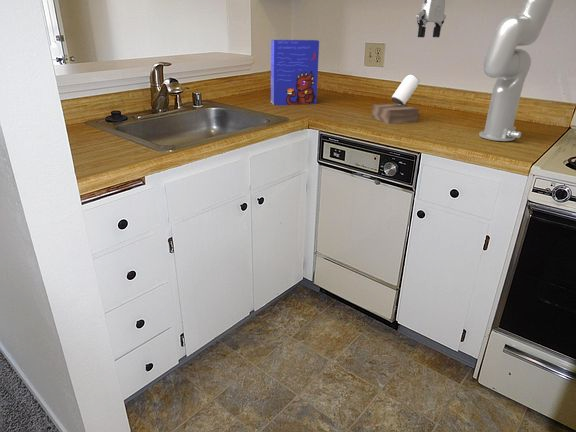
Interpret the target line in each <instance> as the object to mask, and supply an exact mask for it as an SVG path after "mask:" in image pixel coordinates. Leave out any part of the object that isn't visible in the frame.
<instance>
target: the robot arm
mask: <svg viewBox="0 0 576 432" xmlns="http://www.w3.org/2000/svg"><path fill="white" fill-rule="evenodd" d="M554 1H555V0H524V1H523V4H522V6H521V9H520V11H519V13H518V14H512V15H508V16H506V17H504V18H503V19H502V20H501V21H499V23H498V25H496V28H495V29H494V33H493V35H492V38H491V40H490V43H489V45H488V48H487V50H486V53H485V56H484V59H483V72H484V74H485V75H486V76H487V77H489V78H491V79H496V81H495V83H494V85H493V88H492V92H491V97H490V102H489V106H488V110H487V116H486V120H485V126H484V130H481V131H479V134H478V136H479V137H480V138H483V139H485V140H490V141H496V142H497V141H498V142H512V141H514V140H515V139H519V138H521V136H522V132H521V131H516V128H517V127H516V126H514V124H515V120H516V115H517V111H518V109H519V108H518V107H519V104H520V98H521V94H522V91H523V87H524V83H525V81H526V79H527V77H528V74H529V72H530V68H531V64H532V60H531V59H532V58H531V56H530V54H529V52H527V51H526V49H525V50H524V49H522V48H517V47H518V46H519V47H521V46H522V47H523V46H524V47H525V46H530V45H532V44H534V43H535V42H536V41H537V40H538V38H539V36H540V35H541V32H542V29H543V27H544V25H545V24H546V23H545V22H546V20H547V18H548V16H549V13H550V12H551V8H552V5H553V4H554ZM445 8H446V0H422V4H421V8H420V12H419V13H417V14H416V23H417V27H418V31H417V38H425V37H426V35H425V34H426V30H427V29H426V28H427V27H426V25H427V24H428V23H433V24H434V27H433V31H432V38H440V35H441V31H442V29H441V28H442V27H443V24H444V23H445V20H446V15H445Z"/></svg>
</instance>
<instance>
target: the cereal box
mask: <svg viewBox="0 0 576 432" xmlns="http://www.w3.org/2000/svg"><path fill="white" fill-rule="evenodd" d="M319 49H320V41H319V40H318V39H271V40H270V104H271V103H272V104H273V105H278V106H295V105H297V106H299V105H300V106H301V105H316V104H317V100H318V99H317V95H318V74H319V55H320V53H319V52H320V51H319ZM272 104H271V105H272ZM273 105H272V106H273Z"/></svg>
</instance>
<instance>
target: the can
mask: <svg viewBox="0 0 576 432" xmlns="http://www.w3.org/2000/svg"><path fill="white" fill-rule="evenodd" d="M419 83H420V79H419V78H418V77H417V76H416V75H414V74H411V73H409V74H407V76H405V77H404V78H403V80H402V81H401V83H400V84H399V86H398V87H397V88H396V90H395V92H394V93H393V94H392V96H391V100H392V101H393V102H394V103H396V104H398V105H400V106H403V105H407V104H406V103H407V102H408V101H409V99H410V98H411V96H412V95H413V94H414V92H416V91H415V90H416V89H418V85H419Z"/></svg>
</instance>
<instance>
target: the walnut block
mask: <svg viewBox="0 0 576 432" xmlns="http://www.w3.org/2000/svg"><path fill="white" fill-rule="evenodd" d="M371 108H372V109H371V118H372V119H375V120H377V121H380V122H381V123H385V124H386V125H387V124H388V125H395V124H396V125H397V124H408V123H411V124H412V123H413V124H414V123H418V119H419V113H420V112H419V111H420V110H419V108H418V107H413V106H411V105H408V104H405V105H403V106H400V105H398V104H396V103H395V102H394V103H378V104H377V103H375V104H372V107H371Z"/></svg>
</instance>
